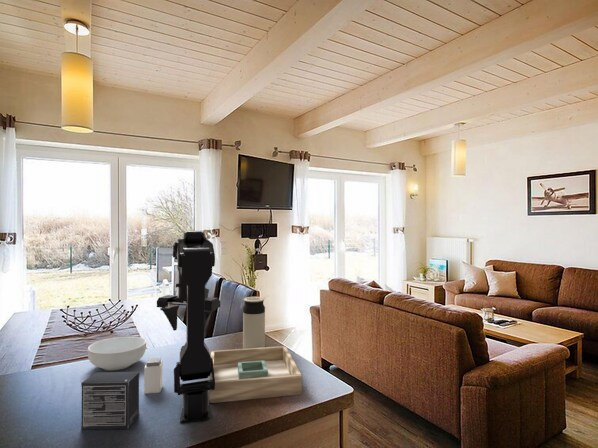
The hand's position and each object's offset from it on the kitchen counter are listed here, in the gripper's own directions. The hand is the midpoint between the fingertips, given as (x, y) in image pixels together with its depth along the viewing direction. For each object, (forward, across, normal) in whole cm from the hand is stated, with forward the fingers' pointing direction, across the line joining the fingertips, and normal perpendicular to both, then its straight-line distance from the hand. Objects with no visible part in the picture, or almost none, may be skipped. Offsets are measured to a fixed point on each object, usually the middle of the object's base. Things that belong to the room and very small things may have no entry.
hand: (188, 331), depth 109 cm
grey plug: (+13, +4, +11) cm, 18 cm away
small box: (+14, +2, +28) cm, 31 cm away
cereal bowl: (+13, +26, 0) cm, 29 cm away
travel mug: (+13, -9, -28) cm, 32 cm away
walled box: (+13, -20, -3) cm, 24 cm away
